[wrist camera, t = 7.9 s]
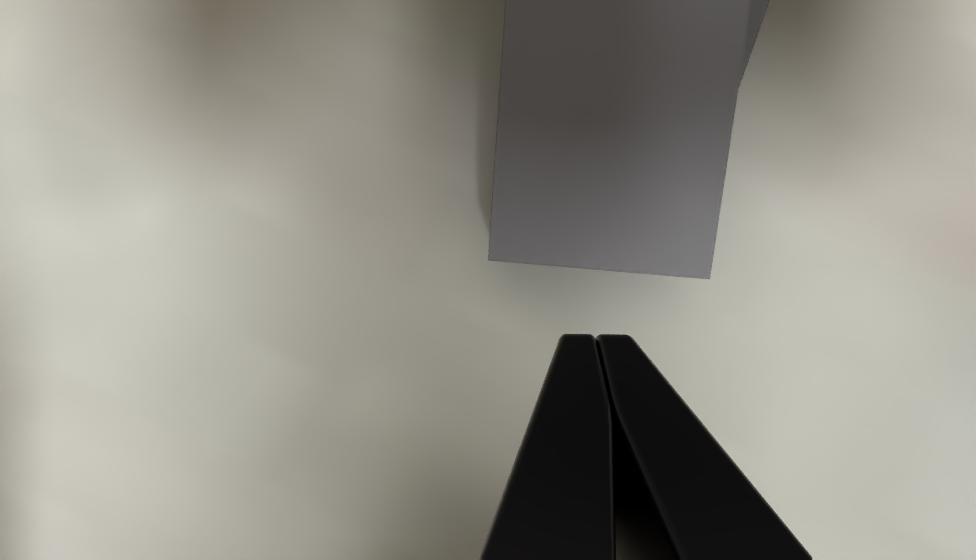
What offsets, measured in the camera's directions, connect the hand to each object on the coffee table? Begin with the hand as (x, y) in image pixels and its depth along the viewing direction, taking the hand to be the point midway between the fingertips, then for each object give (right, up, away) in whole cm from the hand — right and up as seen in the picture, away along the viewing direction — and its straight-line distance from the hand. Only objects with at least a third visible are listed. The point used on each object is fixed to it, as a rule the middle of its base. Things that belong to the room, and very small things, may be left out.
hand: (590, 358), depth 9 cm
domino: (+1, +1, +8) cm, 9 cm away
